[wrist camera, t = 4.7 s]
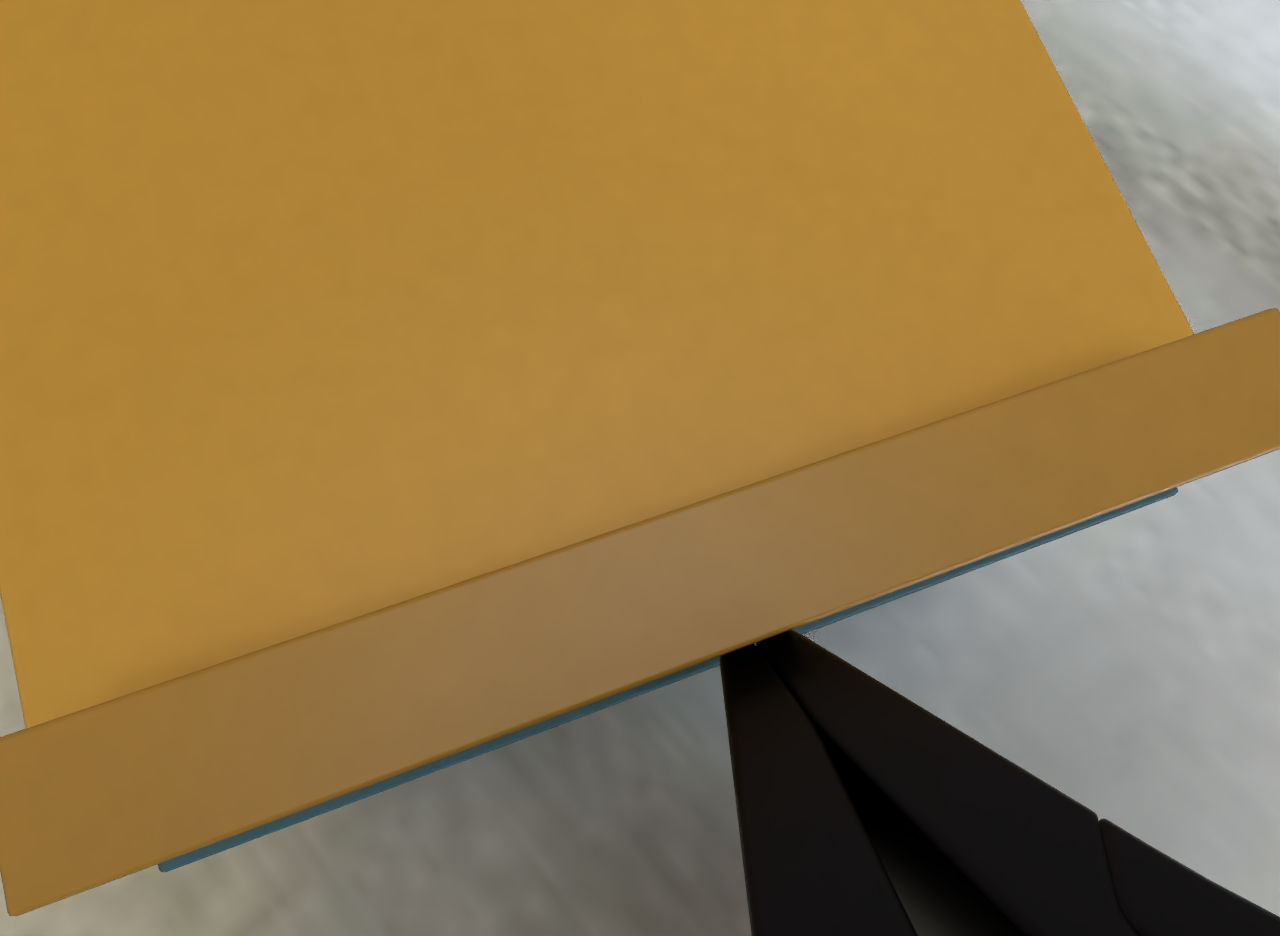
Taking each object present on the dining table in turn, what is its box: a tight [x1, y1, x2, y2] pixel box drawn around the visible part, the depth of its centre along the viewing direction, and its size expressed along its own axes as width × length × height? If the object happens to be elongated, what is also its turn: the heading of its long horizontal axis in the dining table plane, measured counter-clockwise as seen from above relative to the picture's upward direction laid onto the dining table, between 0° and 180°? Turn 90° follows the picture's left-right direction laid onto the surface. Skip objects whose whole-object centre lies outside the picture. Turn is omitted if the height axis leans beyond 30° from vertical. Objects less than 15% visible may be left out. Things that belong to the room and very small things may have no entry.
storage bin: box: [158, 487, 1178, 872], centre depth 16 cm, size 13×15×8 cm
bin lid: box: [0, 0, 1280, 916], centre depth 11 cm, size 14×16×3 cm
